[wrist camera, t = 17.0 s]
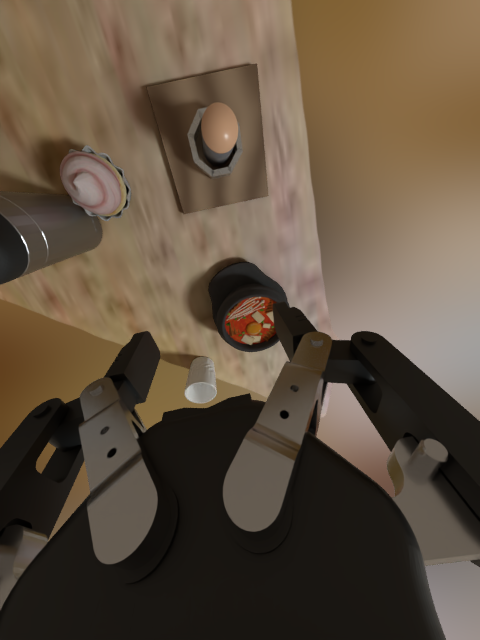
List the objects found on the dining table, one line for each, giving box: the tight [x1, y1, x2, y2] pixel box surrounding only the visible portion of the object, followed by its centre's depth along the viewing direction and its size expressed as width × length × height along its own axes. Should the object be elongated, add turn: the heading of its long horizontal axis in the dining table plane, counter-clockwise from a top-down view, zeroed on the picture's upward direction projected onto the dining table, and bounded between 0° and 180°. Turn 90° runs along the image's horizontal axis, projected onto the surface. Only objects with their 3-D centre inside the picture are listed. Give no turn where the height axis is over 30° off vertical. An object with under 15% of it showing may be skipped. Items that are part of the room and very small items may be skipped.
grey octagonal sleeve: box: [187, 107, 243, 179], centre depth 30 cm, size 8×8×4 cm
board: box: [146, 64, 268, 214], centre depth 32 cm, size 16×16×1 cm
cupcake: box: [60, 145, 131, 221], centre depth 29 cm, size 9×9×10 cm
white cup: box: [185, 357, 217, 403], centre depth 53 cm, size 8×8×10 cm
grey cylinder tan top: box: [201, 102, 238, 166], centre depth 27 cm, size 4×4×10 cm
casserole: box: [208, 262, 290, 352], centre depth 45 cm, size 25×19×8 cm
